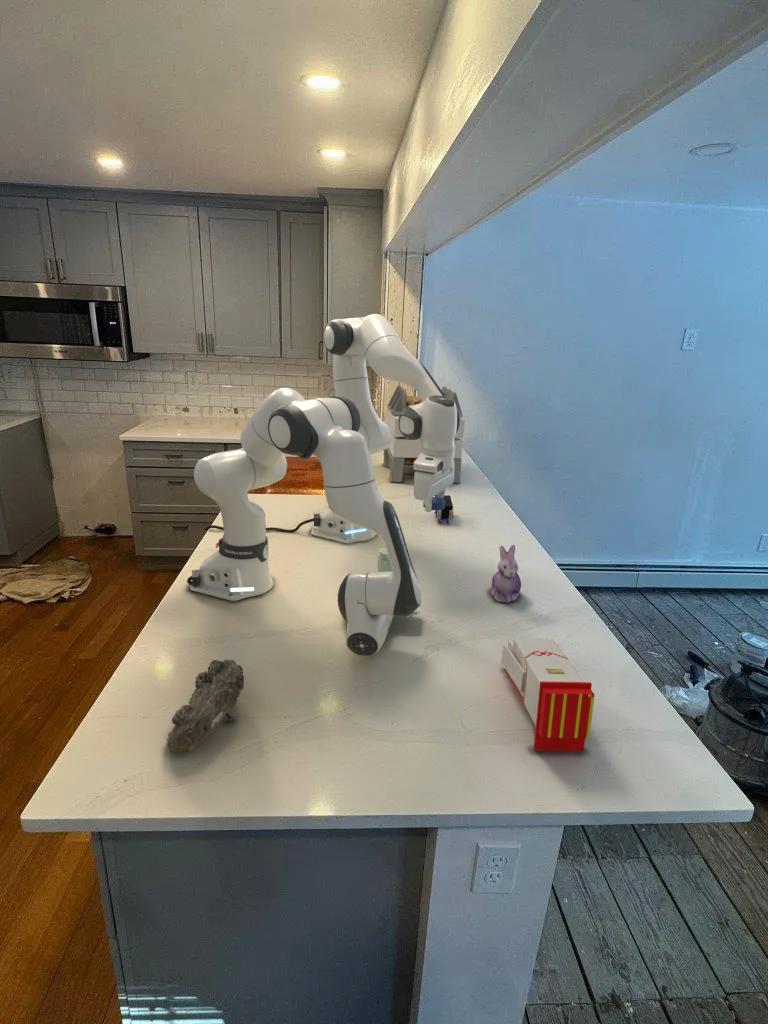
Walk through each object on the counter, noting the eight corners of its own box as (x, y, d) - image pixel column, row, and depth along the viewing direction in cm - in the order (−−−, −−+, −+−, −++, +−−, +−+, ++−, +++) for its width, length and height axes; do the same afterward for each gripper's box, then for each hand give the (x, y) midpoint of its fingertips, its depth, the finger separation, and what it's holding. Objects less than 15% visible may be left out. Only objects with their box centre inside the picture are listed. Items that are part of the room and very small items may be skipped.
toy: (549, 621, 128) (604, 690, 99) (544, 676, 131) (595, 758, 101) (496, 620, 128) (535, 688, 98) (492, 675, 130) (528, 757, 101)
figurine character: (453, 528, 210) (448, 510, 224) (455, 510, 207) (450, 493, 220) (435, 528, 210) (432, 510, 223) (437, 509, 207) (433, 492, 220)
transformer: (382, 463, 289) (386, 382, 275) (445, 464, 293) (451, 384, 279) (390, 482, 257) (394, 392, 243) (460, 483, 261) (468, 394, 247)
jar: (375, 599, 154) (377, 547, 149) (393, 599, 155) (396, 547, 150) (376, 608, 150) (379, 555, 145) (395, 608, 150) (398, 555, 145)
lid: (448, 508, 155) (449, 501, 154) (432, 511, 152) (433, 504, 151) (434, 502, 159) (435, 495, 159) (418, 505, 156) (419, 498, 156)
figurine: (503, 606, 153) (510, 556, 148) (480, 590, 162) (486, 542, 156) (530, 600, 157) (537, 550, 152) (507, 584, 166) (513, 537, 161)
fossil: (192, 660, 117) (244, 628, 112) (224, 691, 120) (276, 661, 115) (142, 746, 98) (202, 712, 93) (182, 779, 101) (242, 748, 96)
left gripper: (419, 604, 136) (425, 579, 149) (336, 593, 139) (350, 570, 152) (417, 627, 138) (424, 600, 151) (336, 616, 141) (349, 591, 154)
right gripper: (440, 449, 161) (437, 495, 166) (410, 464, 144) (407, 515, 148) (461, 452, 158) (457, 499, 163) (433, 468, 141) (429, 520, 146)
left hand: (386, 585), depth 151 cm, fingers closed on jar, 5 cm apart
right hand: (433, 507), depth 156 cm, fingers closed on lid, 6 cm apart
